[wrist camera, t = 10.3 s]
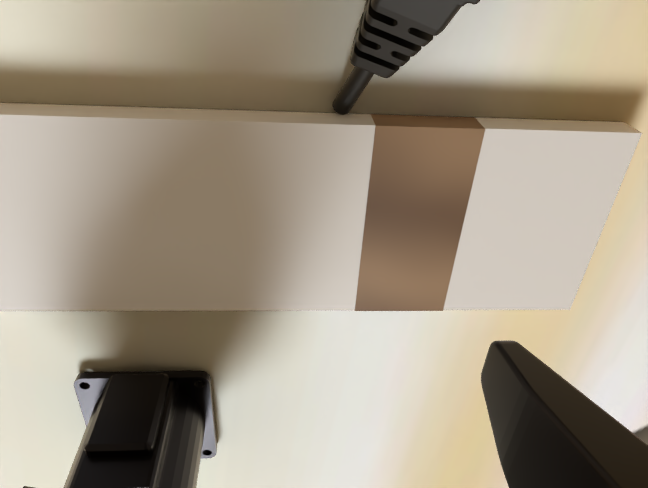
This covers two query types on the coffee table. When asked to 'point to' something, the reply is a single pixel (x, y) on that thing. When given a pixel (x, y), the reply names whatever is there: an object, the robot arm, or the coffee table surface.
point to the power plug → (392, 39)
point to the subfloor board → (299, 209)
